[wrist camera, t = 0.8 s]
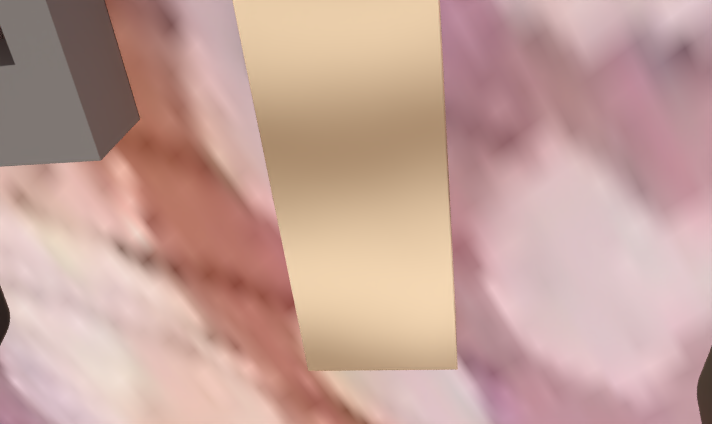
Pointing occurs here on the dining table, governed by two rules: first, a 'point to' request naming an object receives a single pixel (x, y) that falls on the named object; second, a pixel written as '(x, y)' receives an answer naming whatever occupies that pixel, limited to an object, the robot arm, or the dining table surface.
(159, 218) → the dining table surface
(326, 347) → the beech clip
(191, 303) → the dining table surface
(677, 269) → the dining table surface
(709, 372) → the robot arm
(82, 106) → the grey piece
